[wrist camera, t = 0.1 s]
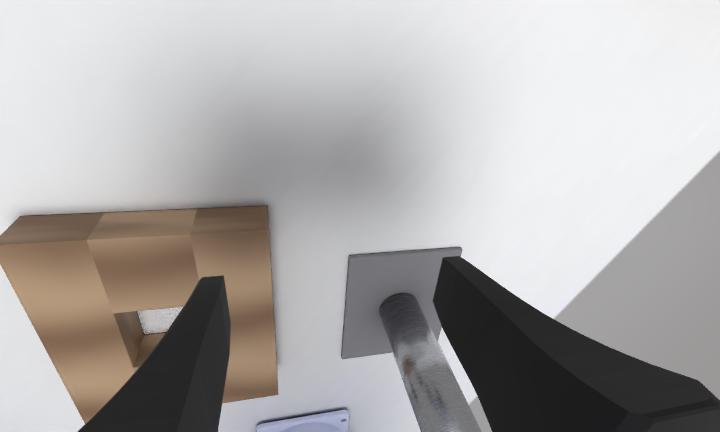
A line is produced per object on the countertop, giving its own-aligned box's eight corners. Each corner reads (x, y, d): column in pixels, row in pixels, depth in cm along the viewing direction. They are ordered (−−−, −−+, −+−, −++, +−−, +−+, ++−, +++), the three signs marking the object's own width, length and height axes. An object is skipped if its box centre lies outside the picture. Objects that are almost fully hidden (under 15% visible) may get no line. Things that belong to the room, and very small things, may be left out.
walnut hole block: (276, 364, 29) (278, 394, 27) (99, 388, 26) (85, 424, 24) (267, 205, 21) (268, 229, 19) (20, 216, 19) (-10, 245, 17)
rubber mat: (434, 343, 32) (436, 346, 31) (341, 356, 30) (342, 359, 30) (460, 247, 26) (462, 249, 26) (349, 255, 25) (349, 258, 24)
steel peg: (414, 319, 29) (475, 455, 21) (376, 324, 28) (425, 466, 20) (420, 290, 27) (489, 424, 19) (381, 294, 27) (434, 435, 18)
